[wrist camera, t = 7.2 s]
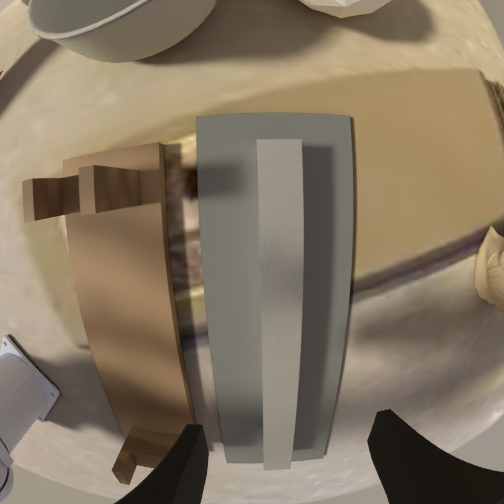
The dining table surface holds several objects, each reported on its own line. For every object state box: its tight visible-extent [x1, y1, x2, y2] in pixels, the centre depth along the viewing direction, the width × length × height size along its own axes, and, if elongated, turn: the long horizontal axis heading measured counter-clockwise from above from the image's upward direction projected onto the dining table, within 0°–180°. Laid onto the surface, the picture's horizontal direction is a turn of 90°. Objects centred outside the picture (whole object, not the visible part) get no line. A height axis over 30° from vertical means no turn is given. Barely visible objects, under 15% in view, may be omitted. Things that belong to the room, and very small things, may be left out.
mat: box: [196, 113, 353, 463], centre depth 18 cm, size 28×9×1 cm, turn 2°
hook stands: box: [22, 143, 197, 485], centre depth 15 cm, size 25×7×6 cm, turn 2°
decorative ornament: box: [474, 226, 504, 312], centre depth 14 cm, size 4×8×5 cm, turn 37°
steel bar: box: [256, 139, 304, 470], centre depth 17 cm, size 24×2×2 cm, turn 2°
